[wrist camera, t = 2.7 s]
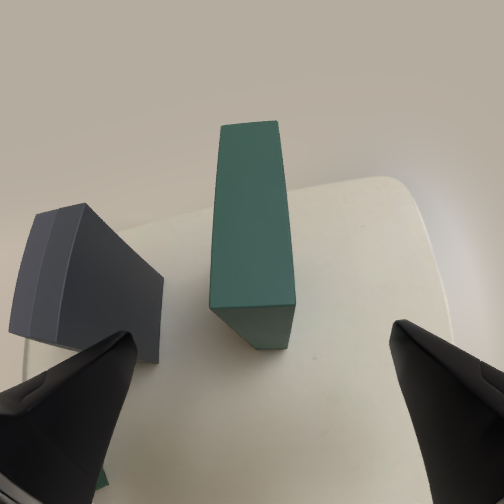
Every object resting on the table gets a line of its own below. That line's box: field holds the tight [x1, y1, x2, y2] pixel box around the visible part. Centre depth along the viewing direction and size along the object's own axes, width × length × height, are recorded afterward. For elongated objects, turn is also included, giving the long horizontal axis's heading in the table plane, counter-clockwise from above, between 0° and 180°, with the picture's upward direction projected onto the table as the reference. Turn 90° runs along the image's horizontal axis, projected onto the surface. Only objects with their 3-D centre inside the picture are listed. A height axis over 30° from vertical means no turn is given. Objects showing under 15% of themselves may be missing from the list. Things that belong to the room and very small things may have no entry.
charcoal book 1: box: [9, 209, 81, 352], centre depth 16 cm, size 7×2×11 cm, turn 1°
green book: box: [209, 121, 296, 350], centre depth 14 cm, size 7×2×13 cm, turn 1°
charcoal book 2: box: [29, 203, 164, 364], centre depth 15 cm, size 7×2×11 cm, turn 1°
